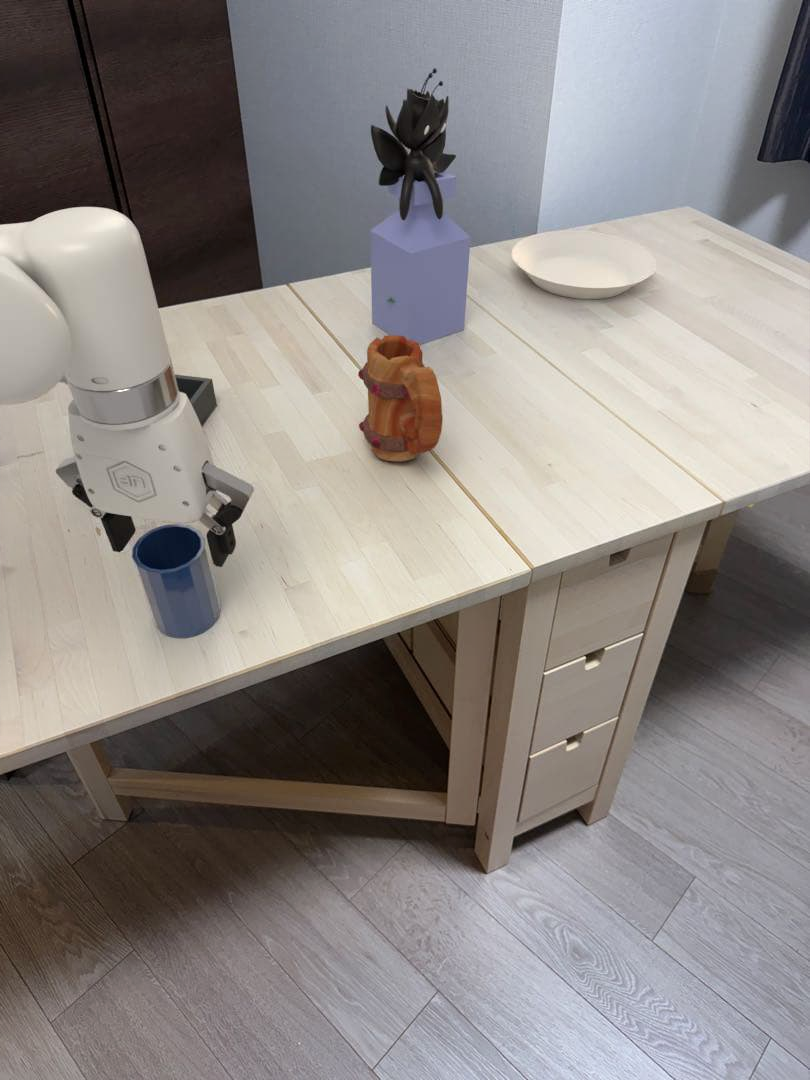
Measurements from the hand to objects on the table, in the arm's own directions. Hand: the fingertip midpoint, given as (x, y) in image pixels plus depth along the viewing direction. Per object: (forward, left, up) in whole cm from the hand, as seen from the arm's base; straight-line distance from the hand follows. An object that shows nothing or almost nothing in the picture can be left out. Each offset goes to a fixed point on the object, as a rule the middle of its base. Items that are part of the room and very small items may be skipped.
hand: (174, 548), depth 68 cm
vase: (+11, +64, -9) cm, 65 cm away
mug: (+16, +29, -9) cm, 34 cm away
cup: (0, 0, -9) cm, 9 cm away
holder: (-16, +27, -9) cm, 32 cm away
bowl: (+36, +89, -9) cm, 96 cm away
